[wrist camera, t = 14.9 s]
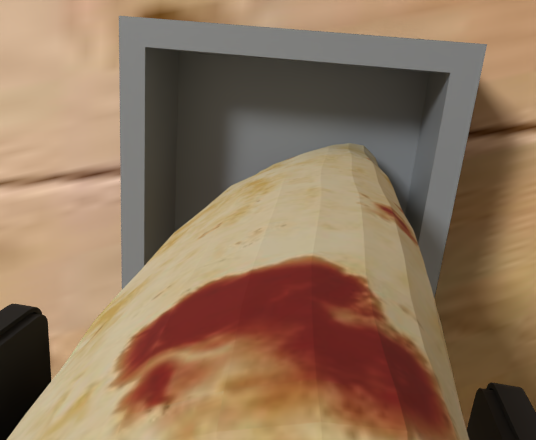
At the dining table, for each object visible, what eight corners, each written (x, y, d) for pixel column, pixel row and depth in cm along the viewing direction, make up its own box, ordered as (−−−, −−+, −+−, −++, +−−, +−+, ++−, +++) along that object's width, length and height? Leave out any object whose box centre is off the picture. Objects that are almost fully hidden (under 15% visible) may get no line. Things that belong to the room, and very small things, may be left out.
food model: (329, 92, 21) (245, 258, 2) (421, 206, 22) (892, 983, 3) (176, 224, 24) (-412, 773, 5) (263, 320, 25) (28, 1085, 6)
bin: (453, 50, 21) (486, 44, 16) (394, 366, 26) (406, 432, 21) (165, 27, 22) (119, 15, 18) (160, 330, 27) (122, 385, 23)
